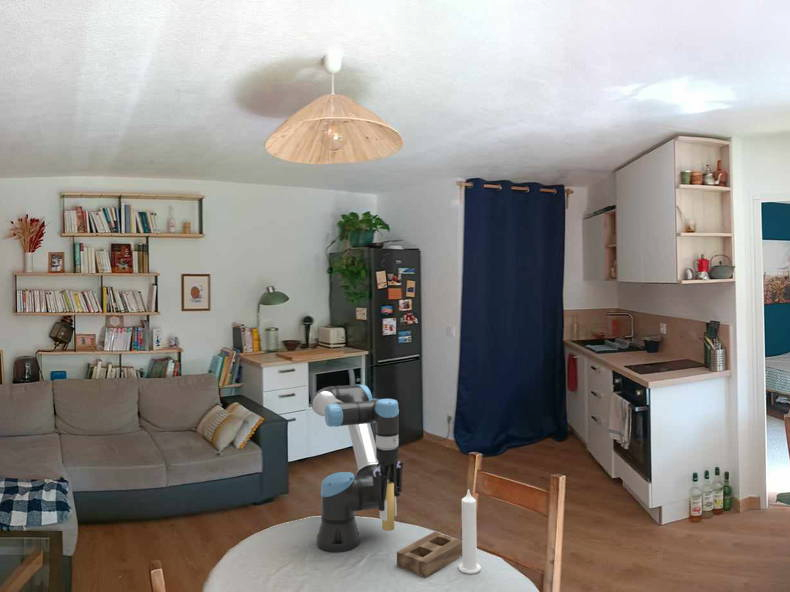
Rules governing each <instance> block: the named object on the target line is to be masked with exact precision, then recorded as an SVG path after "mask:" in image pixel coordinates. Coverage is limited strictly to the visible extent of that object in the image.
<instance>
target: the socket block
mask: <svg viewBox="0 0 790 592" xmlns="http://www.w3.org/2000/svg"><path fill="white" fill-rule="evenodd" d="M460 556H461V557H462V539H458V538H455V537H453V536H449V535H447V534H444V533H441V532H437V531H433V532H432V533H430V534H427V535H425V536H423V537H422V538H420V539H418V540H416V541H414V542H412V543H411V544H408V545H407V546H405V547H402V548H401V549H399V550H398V551H396V567H399V568H401V569H404V570H406V571H409V572H410V573H411V572H412V573H414V574H417V575H419V576H421V577H424V578H426V579H427V578H429V577H431V576H432V575H433V574H435V573H437V572H438V571H440V570H442V569H443V568H445V567H446V566H448V565H450V564H451V563H452V561H453V562H454V561H456V560H457V558H458V559H459V558H461V557H460ZM455 559H456V560H455Z"/></svg>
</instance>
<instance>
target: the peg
mask: <svg viewBox="0 0 790 592" xmlns="http://www.w3.org/2000/svg"><path fill="white" fill-rule="evenodd" d="M385 500H387V521H384V520H381V522H382V523H381V524H382V525H381V528H382V530H383V531H385V532H391V531H393V530H395V516H394V482H391V481H387V489H386V497H385Z"/></svg>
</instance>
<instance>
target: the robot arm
mask: <svg viewBox="0 0 790 592" xmlns="http://www.w3.org/2000/svg"><path fill="white" fill-rule="evenodd" d="M311 408H312V410H313V411H314V413H316V415H319V416H321V417H324V420H325V424H326V426H327V427H331V428H332V427H335V428H336V427H337V428H339V427H344V426H347V427H348V431H349V436H350V439H351V444H352V449H353V452H354V457H355V461H356V465H357V471H356V473H355V474H354V473H353V472H351V471H346V472H345V471H341V472H335V473H332V474H329V475H328V476H326V477H325V478H323V479H322V481H321V487H320V497H321V499H320V501H321V503H320V505H321V507H320V508H321V521H320V522H321V523H320V525H319V529H318V533H317V535H316V545H317V548H319V549H321V550H323V551H326V552H331V553H332V552H333V553H337V552H339V553H340V552H346V551H351V550H352V549H355V548H357V547H358V546H359V545H360V544H361V533H360V531H359V528H358V524H357V521H356V517H355V516H356V512H359V511H369V510H376V509H378V511H379V520H381V521H382V520H384V521H387V500H385V497H386V489H387V481H391V482H394V517H397V515H398V514H397V509H398V508H397V506H398V497H400V495H401V493H402V491H403V485H402V484H403V467H404V462H402V461H398V459H399V458H400V447H399V441H400V439H399V428H400V427H399V426H400V425H399V421H400V420H399V419H400V418H399V412H400V409H399V402H398V400H396V399H393V398H381V399H380V398H373V396H372V393H371V390H370V389H369V387H368V386H367V385H366V384H357V383H356V384H352V385H348V384H347V385H333V386H332V385H331V386H327V387H323V388H321V389H319V390H318V391H316V393H315V394H314V395H313V396H312V399H311ZM371 424H375V437H374V434H373V430H372V426H371Z"/></svg>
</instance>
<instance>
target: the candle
mask: <svg viewBox="0 0 790 592" xmlns="http://www.w3.org/2000/svg"><path fill="white" fill-rule="evenodd" d="M461 540H462V556H461V557H462V558H461V559H462V561H461V562H460V563H459V564H458V567H457V568H458V570H459V572H461V573H463V574H466V575H475V574H478V573H480V572H481V570H482V566H481V565H480V564H479V563H478V556H477V555H478V550H477V549H478V548H477V545H478V544H477V500H476V498H474V497H473V496H472V495H471V491H470V489H467V493H466V495H465V496H464V497H463V498H461Z"/></svg>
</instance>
